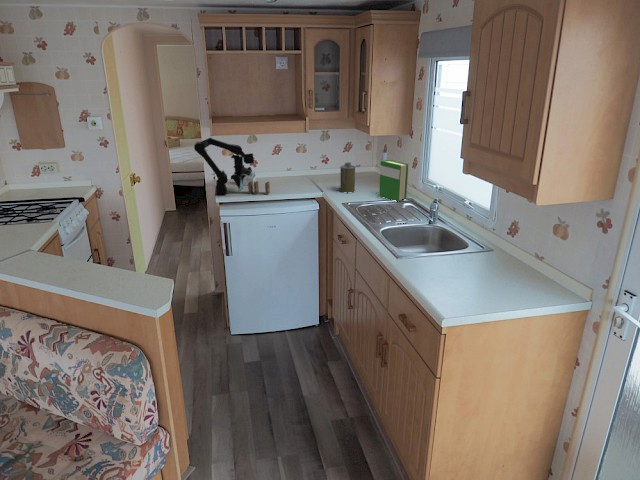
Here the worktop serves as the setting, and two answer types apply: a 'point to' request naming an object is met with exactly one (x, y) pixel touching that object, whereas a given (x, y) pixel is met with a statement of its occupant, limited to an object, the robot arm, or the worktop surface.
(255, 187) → the domino
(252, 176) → the light bulb box
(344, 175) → the canister
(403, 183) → the hardback book
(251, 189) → the domino
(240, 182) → the teal domino
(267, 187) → the domino
